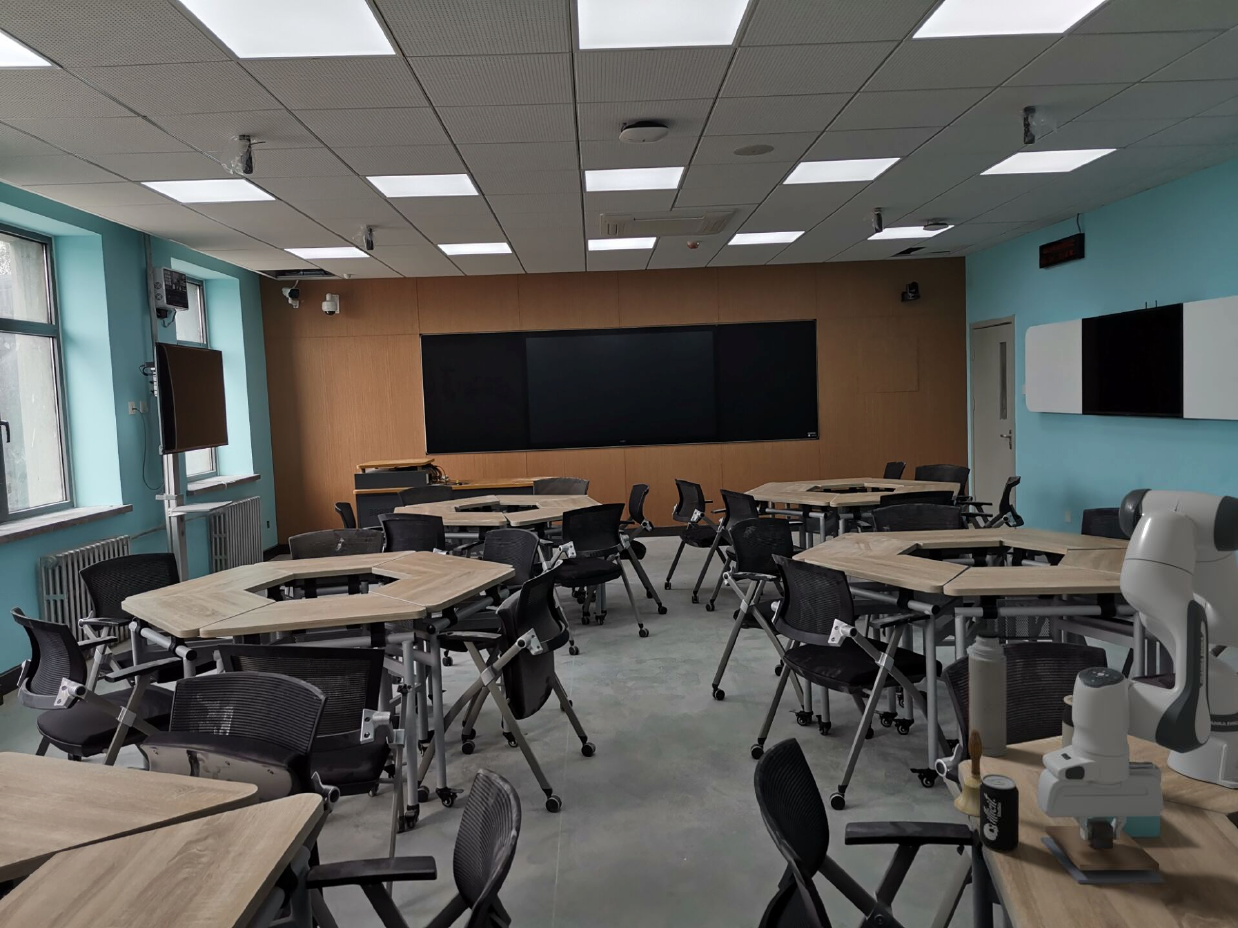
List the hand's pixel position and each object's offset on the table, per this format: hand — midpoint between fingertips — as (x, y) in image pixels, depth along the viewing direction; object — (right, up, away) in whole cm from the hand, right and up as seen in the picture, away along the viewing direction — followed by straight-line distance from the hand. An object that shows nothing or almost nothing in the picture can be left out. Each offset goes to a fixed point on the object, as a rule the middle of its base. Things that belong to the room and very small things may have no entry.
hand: (1099, 838), depth 149 cm
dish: (+10, -3, +14) cm, 17 cm away
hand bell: (-13, -3, +21) cm, 25 cm away
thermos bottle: (+1, -1, +48) cm, 48 cm away
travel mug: (+13, -2, +30) cm, 32 cm away
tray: (0, -4, 0) cm, 4 cm away
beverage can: (-15, -4, +7) cm, 17 cm away
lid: (0, -2, 0) cm, 2 cm away
